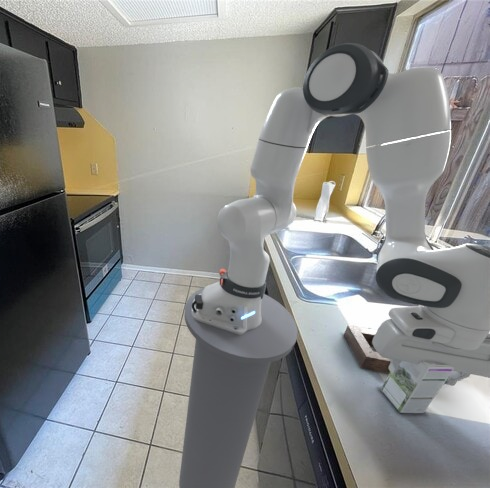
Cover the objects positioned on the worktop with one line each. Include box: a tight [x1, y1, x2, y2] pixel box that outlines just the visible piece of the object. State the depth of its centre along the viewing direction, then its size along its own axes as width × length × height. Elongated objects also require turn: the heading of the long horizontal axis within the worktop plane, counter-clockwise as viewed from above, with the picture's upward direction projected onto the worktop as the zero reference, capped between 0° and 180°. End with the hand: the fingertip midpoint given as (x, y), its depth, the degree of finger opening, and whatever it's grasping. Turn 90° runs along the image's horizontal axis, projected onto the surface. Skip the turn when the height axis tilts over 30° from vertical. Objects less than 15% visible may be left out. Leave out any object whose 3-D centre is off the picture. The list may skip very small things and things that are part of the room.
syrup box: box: [380, 361, 454, 414], centre depth 56 cm, size 6×6×14 cm
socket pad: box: [343, 324, 391, 375], centre depth 70 cm, size 12×12×4 cm
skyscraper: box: [313, 180, 336, 223], centre depth 177 cm, size 8×8×28 cm
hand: (419, 377), depth 55 cm, fingers open, 8 cm apart
